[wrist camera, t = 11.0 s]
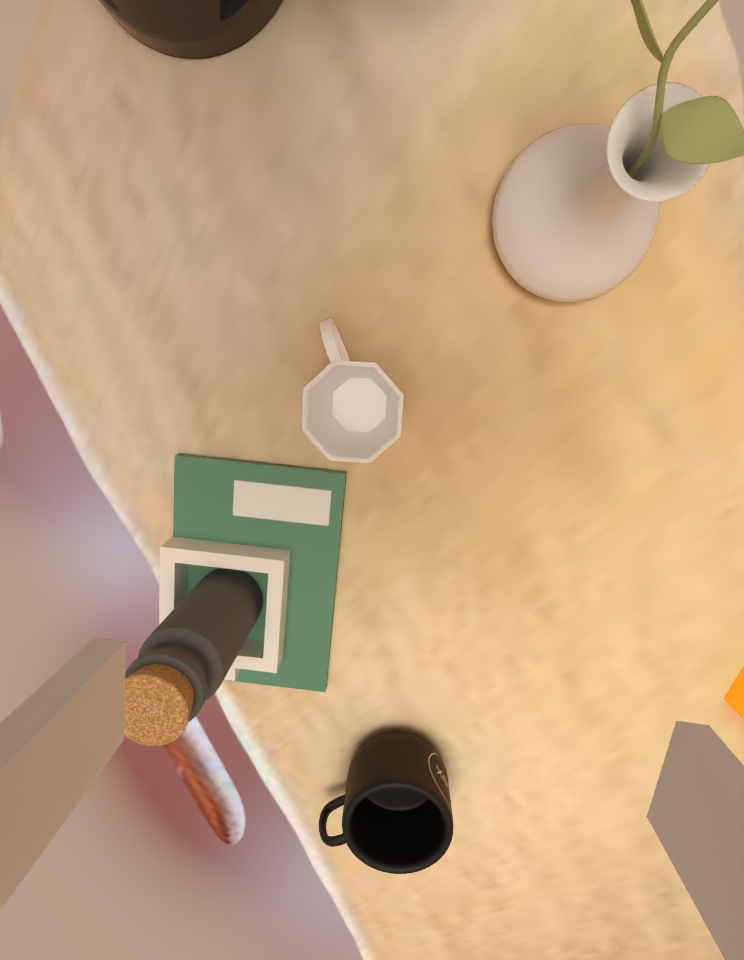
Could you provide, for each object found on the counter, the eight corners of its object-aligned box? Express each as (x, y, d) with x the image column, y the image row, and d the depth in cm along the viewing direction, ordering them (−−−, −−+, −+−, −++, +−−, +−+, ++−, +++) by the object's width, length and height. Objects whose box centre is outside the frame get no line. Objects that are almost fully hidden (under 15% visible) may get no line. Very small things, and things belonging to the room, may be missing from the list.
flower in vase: (665, 268, 38) (1150, 92, 14) (516, 328, 39) (712, 266, 15) (615, 82, 36) (1095, -543, 11) (458, 153, 37) (579, -264, 13)
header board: (178, 453, 43) (160, 460, 39) (346, 472, 42) (342, 480, 39) (174, 668, 47) (158, 690, 44) (326, 686, 47) (321, 710, 44)
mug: (422, 708, 47) (427, 768, 40) (460, 786, 48) (471, 856, 41) (305, 751, 48) (289, 815, 41) (345, 825, 50) (337, 899, 43)
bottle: (198, 561, 44) (99, 660, 29) (266, 571, 44) (200, 675, 29) (194, 624, 45) (97, 747, 30) (260, 633, 45) (194, 762, 30)
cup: (334, 458, 42) (320, 480, 34) (291, 339, 40) (265, 332, 32) (416, 431, 41) (420, 446, 33) (375, 308, 39) (370, 293, 32)
